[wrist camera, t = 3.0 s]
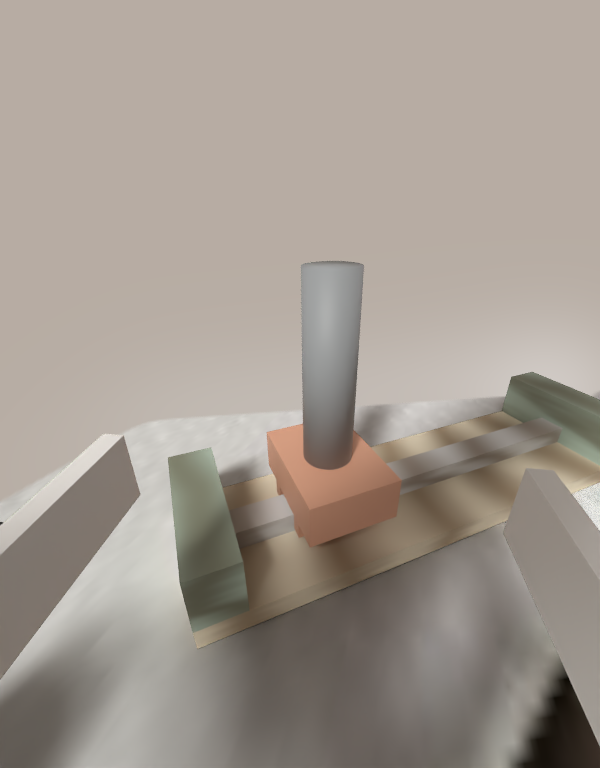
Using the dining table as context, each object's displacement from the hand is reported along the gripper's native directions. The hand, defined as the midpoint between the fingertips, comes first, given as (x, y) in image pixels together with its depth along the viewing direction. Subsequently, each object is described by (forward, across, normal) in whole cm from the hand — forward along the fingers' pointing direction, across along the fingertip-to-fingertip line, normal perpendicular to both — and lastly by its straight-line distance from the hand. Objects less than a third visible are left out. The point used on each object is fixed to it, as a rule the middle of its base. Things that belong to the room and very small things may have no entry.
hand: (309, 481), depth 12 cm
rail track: (+14, +7, -13) cm, 20 cm away
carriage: (+10, 0, -11) cm, 14 cm away
